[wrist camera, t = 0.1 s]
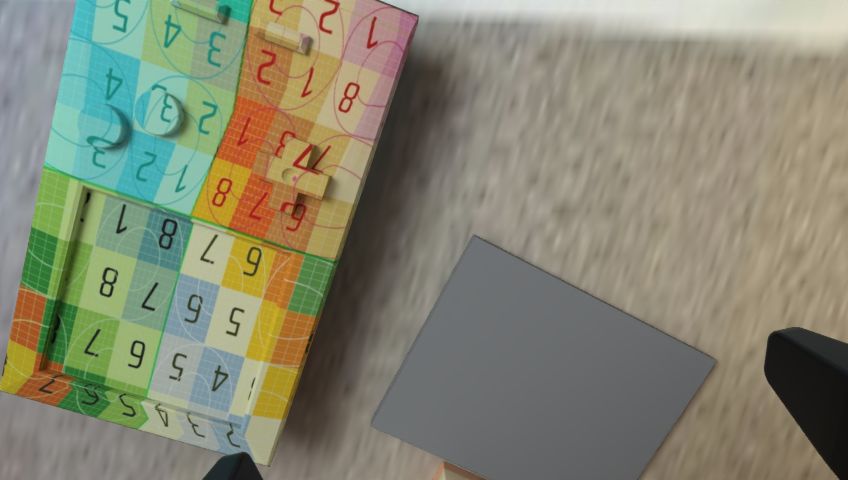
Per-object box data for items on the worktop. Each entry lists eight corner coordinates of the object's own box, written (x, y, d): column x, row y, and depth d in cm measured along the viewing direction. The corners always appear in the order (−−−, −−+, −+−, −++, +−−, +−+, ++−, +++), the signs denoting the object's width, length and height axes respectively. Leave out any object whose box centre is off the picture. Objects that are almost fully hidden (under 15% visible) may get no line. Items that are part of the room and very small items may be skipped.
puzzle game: (419, 9, 17) (263, 481, 21) (416, 36, 22) (289, 419, 25) (84, -123, 16) (-21, 402, 20) (156, -64, 21) (60, 352, 24)
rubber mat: (598, 521, 27) (603, 529, 26) (371, 419, 25) (370, 426, 25) (709, 355, 25) (716, 360, 25) (473, 234, 23) (475, 236, 23)
